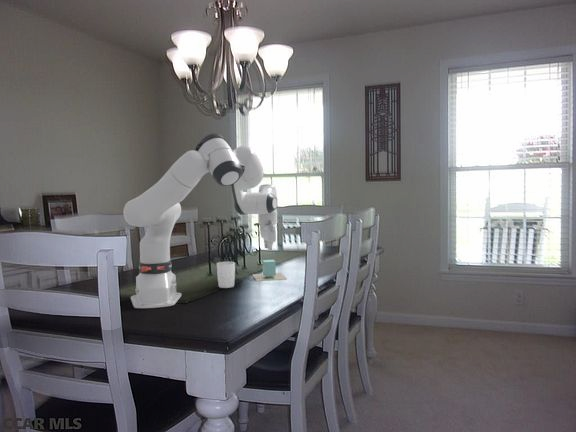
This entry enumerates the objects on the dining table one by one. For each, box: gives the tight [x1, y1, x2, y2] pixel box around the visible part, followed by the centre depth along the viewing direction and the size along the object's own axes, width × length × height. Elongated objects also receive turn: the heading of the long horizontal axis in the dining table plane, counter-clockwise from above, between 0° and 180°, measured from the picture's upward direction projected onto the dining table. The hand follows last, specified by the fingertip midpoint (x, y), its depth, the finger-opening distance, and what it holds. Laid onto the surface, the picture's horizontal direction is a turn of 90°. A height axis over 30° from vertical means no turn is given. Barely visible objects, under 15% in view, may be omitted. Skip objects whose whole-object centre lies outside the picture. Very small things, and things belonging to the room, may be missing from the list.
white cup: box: [216, 261, 236, 289], centre depth 196 cm, size 8×8×10 cm
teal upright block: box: [262, 259, 277, 276], centre depth 214 cm, size 5×5×7 cm
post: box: [251, 272, 288, 282], centre depth 214 cm, size 14×14×7 cm
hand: (268, 249), depth 214 cm, fingers open, 7 cm apart
